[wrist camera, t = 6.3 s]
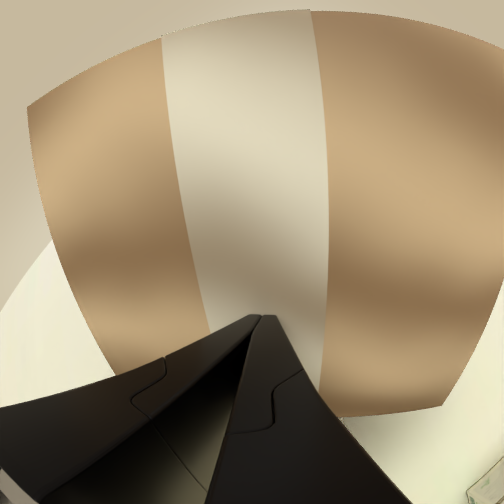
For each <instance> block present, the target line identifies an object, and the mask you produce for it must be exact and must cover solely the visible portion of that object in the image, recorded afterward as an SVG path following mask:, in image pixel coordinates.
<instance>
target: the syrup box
mask: <svg viewBox="0 0 504 504" xmlns="http://www.w3.org/2000/svg"><path fill="white" fill-rule="evenodd" d="M467 495H468V499H469V503H470V504H504V457H503V458H502V459H501V460H500V461H499V462H498V463H497V464H496V465H495V466H494V467H493V468H492V469H491V470H490V471H489V472H488V473H487V474H485V475H484V476H483V477H482V478H481V479H480V480H479V481H478V482H477V483H475V484H474V485H473V486H472V487H471V488H470V489H468V490H467Z"/></svg>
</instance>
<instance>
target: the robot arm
mask: <svg viewBox="0 0 504 504" xmlns="http://www.w3.org/2000/svg"><path fill="white" fill-rule="evenodd" d="M0 504H413V503H412V502H411V501H410V500H409V499H408V498H407V497H406V496H405V495H404V494H403V493H402V492H401V490H400V489H399V488H398V487H397V486H396V485H395V484H394V483H393V482H392V480H391V479H390V478H389V477H388V476H387V475H386V474H385V473H384V471H383V470H382V469H381V468H380V467H379V466H378V465H377V463H376V462H375V461H374V460H373V459H372V458H371V457H370V455H369V454H368V453H367V452H366V451H365V450H364V448H363V447H362V446H361V445H360V444H359V443H358V441H357V440H356V439H355V438H354V437H353V435H352V434H351V433H350V432H349V431H348V429H347V428H346V427H345V426H344V425H343V423H342V422H341V421H340V420H339V419H338V417H337V416H336V415H335V414H334V413H333V411H332V410H331V409H330V408H329V406H328V405H327V404H326V402H325V401H324V400H323V398H322V397H321V396H320V394H319V393H318V391H317V390H316V388H315V386H314V385H313V383H312V381H311V380H310V378H309V376H308V374H307V372H306V371H305V369H304V367H303V365H302V364H301V362H300V360H299V358H298V356H297V354H296V352H295V350H294V348H293V346H292V344H291V342H290V340H289V339H288V337H287V335H286V333H285V331H284V329H283V327H282V325H281V323H280V321H279V319H278V317H277V316H276V315H263V316H262V315H260V314H248V315H247V316H245V317H243V318H241V319H239V320H237V321H235V322H233V323H231V324H229V325H227V326H225V327H223V328H221V329H219V330H217V331H215V332H213V333H211V334H209V335H207V336H205V337H203V338H201V339H199V340H197V341H195V342H193V343H191V344H189V345H187V346H185V347H183V348H181V349H179V350H177V351H174V352H172V353H170V354H168V355H166V356H165V358H164V357H160V358H158V359H156V360H154V361H152V362H150V363H147V364H145V365H142V366H140V367H138V368H135V369H133V370H130V371H127V372H124V373H122V374H119V375H116V376H113V377H110V378H107V379H104V380H101V381H98V382H95V383H91V384H88V385H85V386H82V387H78V388H75V389H72V390H68V391H65V392H61V393H58V394H54V395H50V396H47V397H43V398H39V399H35V400H31V401H27V402H23V403H19V404H15V405H10V406H6V407H1V408H0Z"/></svg>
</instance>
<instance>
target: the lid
mask: <svg viewBox="0 0 504 504" xmlns="http://www.w3.org/2000/svg"><path fill="white" fill-rule="evenodd" d="M27 114H28V125H29V134H30V142H31V149H32V156H33V161H34V168H35V173H36V178H37V182H38V187H39V191H40V196H41V200H42V204H43V208H44V211H45V215H46V219H47V222H48V226H49V229H50V233H51V236H52V239H53V242H54V245H55V248H56V251H57V254H58V257H59V259H60V262H61V265H62V267H63V270H64V273H65V275H66V278H67V280H68V283H69V285H70V287H71V290H72V292H73V295H74V297H75V299H76V301H77V304H78V306H79V308H80V310H81V312H82V314H83V316H84V318H85V320H86V323H87V325H88V327H89V329H90V330H91V332H92V334H93V336H94V338H95V340H96V342H97V344H98V346H99V347H100V349H101V351H102V353H103V355H104V356H105V358H106V360H107V361H108V363H109V365H110V366H111V368H112V370H113V371H114V373H115V375H119V374H122V373H124V372H127V371H130V370H133V369H135V368H138V367H140V366H142V365H145V364H147V363H150V362H152V361H154V360H156V359H158V358H160V357H164V358H165V356H166V355H168V354H170V353H172V352H174V351H177V350H179V349H181V348H183V347H185V346H187V345H189V344H191V343H193V342H195V341H197V340H199V339H201V338H203V337H205V336H207V335H209V334H211V333H213V332H215V331H217V330H219V329H221V328H223V327H225V326H227V325H229V324H231V323H233V322H235V321H237V320H239V319H241V318H243V317H245V316H247V315H248V314H260V315H262V316H263V315H276V316H277V317H278V319H279V321H280V323H281V325H282V327H283V329H284V331H285V333H286V335H287V337H288V339H289V340H290V342H291V344H292V346H293V348H294V350H295V352H296V354H297V356H298V358H299V360H300V362H301V364H302V365H303V367H304V369H305V371H306V372H307V374H308V376H309V378H310V380H311V381H312V383H313V385H314V386H315V388H316V390H317V391H318V393H319V394H320V396H321V397H322V398H323V400H324V401H325V402H326V404H327V405H328V406H329V408H330V409H331V410H332V411H333V413H334V414H335V415H336V416H337V417H355V416H370V415H382V414H392V413H400V412H407V411H414V410H421V409H427V408H432V407H437V406H442V404H443V403H444V401H445V400H446V398H447V397H448V395H449V394H450V392H451V390H452V389H453V387H454V386H455V384H456V382H457V381H458V379H459V377H460V376H461V374H462V372H463V370H464V369H465V367H466V365H467V363H468V361H469V359H470V358H471V356H472V354H473V352H474V350H475V348H476V346H477V344H478V342H479V340H480V338H481V335H482V333H483V331H484V329H485V327H486V324H487V322H488V320H489V317H490V315H491V312H492V310H493V307H494V305H495V302H496V299H497V297H498V294H499V291H500V288H501V285H502V282H503V279H504V50H503V49H501V48H499V47H497V46H495V45H492V44H490V43H488V42H485V41H483V40H480V39H477V38H475V37H472V36H469V35H466V34H463V33H460V32H457V31H454V30H450V29H447V28H444V27H440V26H436V25H432V24H428V23H424V22H419V21H415V20H410V19H404V18H399V17H392V16H385V15H378V14H369V13H368V14H367V13H357V12H338V11H310V9H307V10H287V11H275V12H266V13H258V14H250V15H244V16H238V17H233V18H227V19H222V20H217V21H212V22H208V23H204V24H200V25H196V26H192V27H188V28H185V29H182V30H178V31H175V32H172V33H169V34H166V35H162V36H161V38H159V39H156V40H153V41H150V42H148V43H145V44H142V45H140V46H137V47H135V48H132V49H130V50H128V51H125V52H123V53H120V54H118V55H116V56H114V57H112V58H109V59H107V60H105V61H103V62H101V63H99V64H97V65H95V66H93V67H91V68H89V69H87V70H86V71H84V72H82V73H80V74H78V75H76V76H75V77H73V78H71V79H69V80H68V81H66V82H65V83H63V84H61V85H59V86H58V87H56V88H55V89H53V90H51V91H50V92H49V93H47V94H46V95H44V96H43V97H41V98H40V99H38V100H37V101H35V102H34V103H32V104H31V105H30V106H28V107H27Z"/></svg>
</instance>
